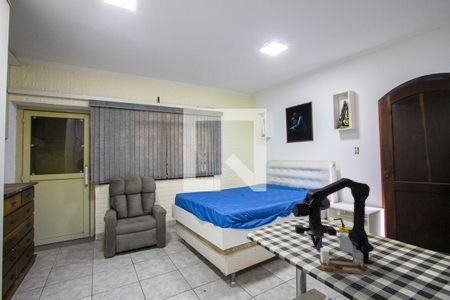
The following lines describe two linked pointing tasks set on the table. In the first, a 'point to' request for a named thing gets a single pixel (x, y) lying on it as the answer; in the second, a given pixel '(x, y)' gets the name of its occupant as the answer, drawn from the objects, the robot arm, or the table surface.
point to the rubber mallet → (326, 204)
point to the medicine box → (346, 243)
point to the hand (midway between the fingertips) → (315, 247)
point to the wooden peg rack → (347, 264)
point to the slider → (324, 255)
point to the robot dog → (343, 227)
